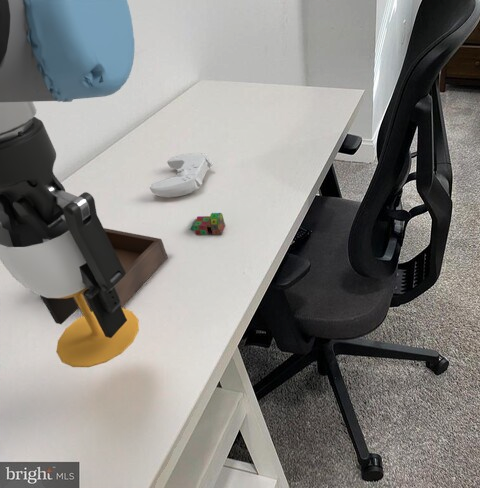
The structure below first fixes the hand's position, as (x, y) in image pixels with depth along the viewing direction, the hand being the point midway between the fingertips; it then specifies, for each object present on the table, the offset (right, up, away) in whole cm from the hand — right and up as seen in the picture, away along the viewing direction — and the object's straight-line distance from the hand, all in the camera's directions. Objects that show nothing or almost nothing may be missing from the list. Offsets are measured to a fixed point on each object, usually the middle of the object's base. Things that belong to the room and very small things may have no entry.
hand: (91, 321), depth 54 cm
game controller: (-3, +21, +46) cm, 51 cm away
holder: (-9, +3, +24) cm, 26 cm away
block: (+5, +11, +33) cm, 35 cm away
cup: (0, -2, +2) cm, 3 cm away
